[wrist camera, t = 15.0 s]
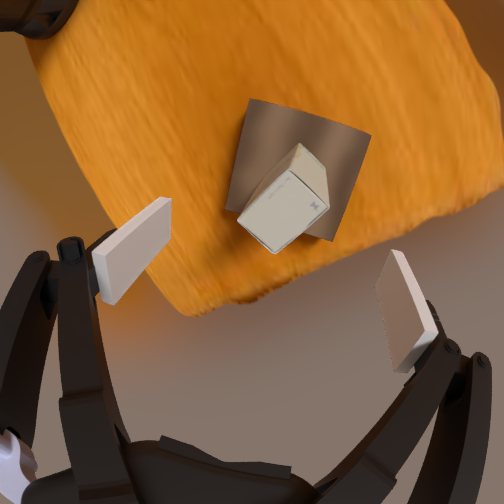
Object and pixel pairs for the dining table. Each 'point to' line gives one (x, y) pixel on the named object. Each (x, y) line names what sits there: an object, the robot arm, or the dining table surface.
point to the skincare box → (287, 200)
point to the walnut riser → (286, 138)
